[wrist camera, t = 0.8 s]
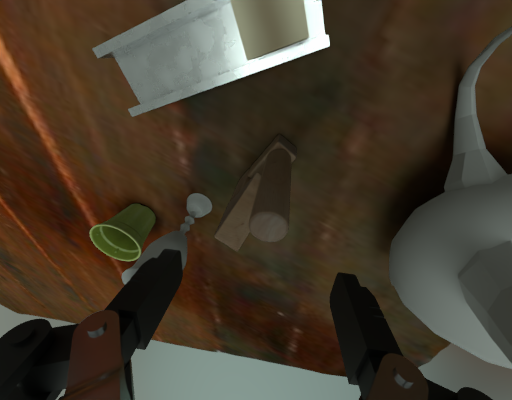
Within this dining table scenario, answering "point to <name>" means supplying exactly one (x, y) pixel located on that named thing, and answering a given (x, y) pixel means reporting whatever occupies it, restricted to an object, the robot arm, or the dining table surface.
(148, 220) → the plant pot
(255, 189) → the wooden block
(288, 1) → the block
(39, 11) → the dining table surface
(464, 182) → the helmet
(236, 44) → the chute
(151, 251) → the chalice
